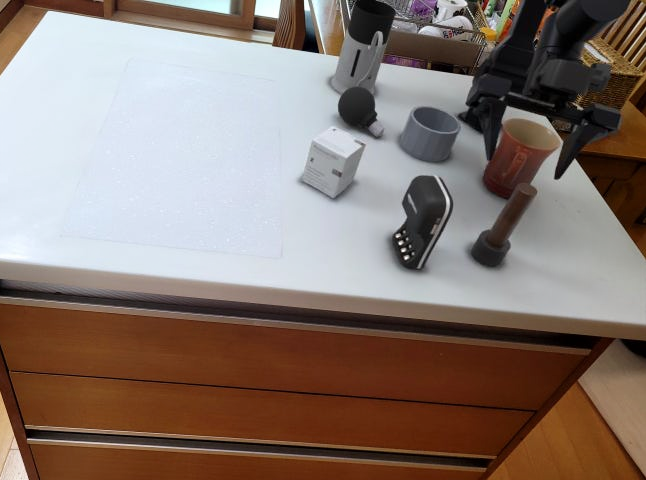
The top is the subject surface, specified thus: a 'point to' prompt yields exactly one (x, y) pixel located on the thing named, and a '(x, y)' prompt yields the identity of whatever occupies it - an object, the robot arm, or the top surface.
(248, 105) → the top surface
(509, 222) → the brown wooden pestle
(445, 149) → the grey stone mortar
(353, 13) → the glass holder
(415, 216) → the battery charger
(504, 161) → the mug
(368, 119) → the light bulb
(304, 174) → the white cardboard box
